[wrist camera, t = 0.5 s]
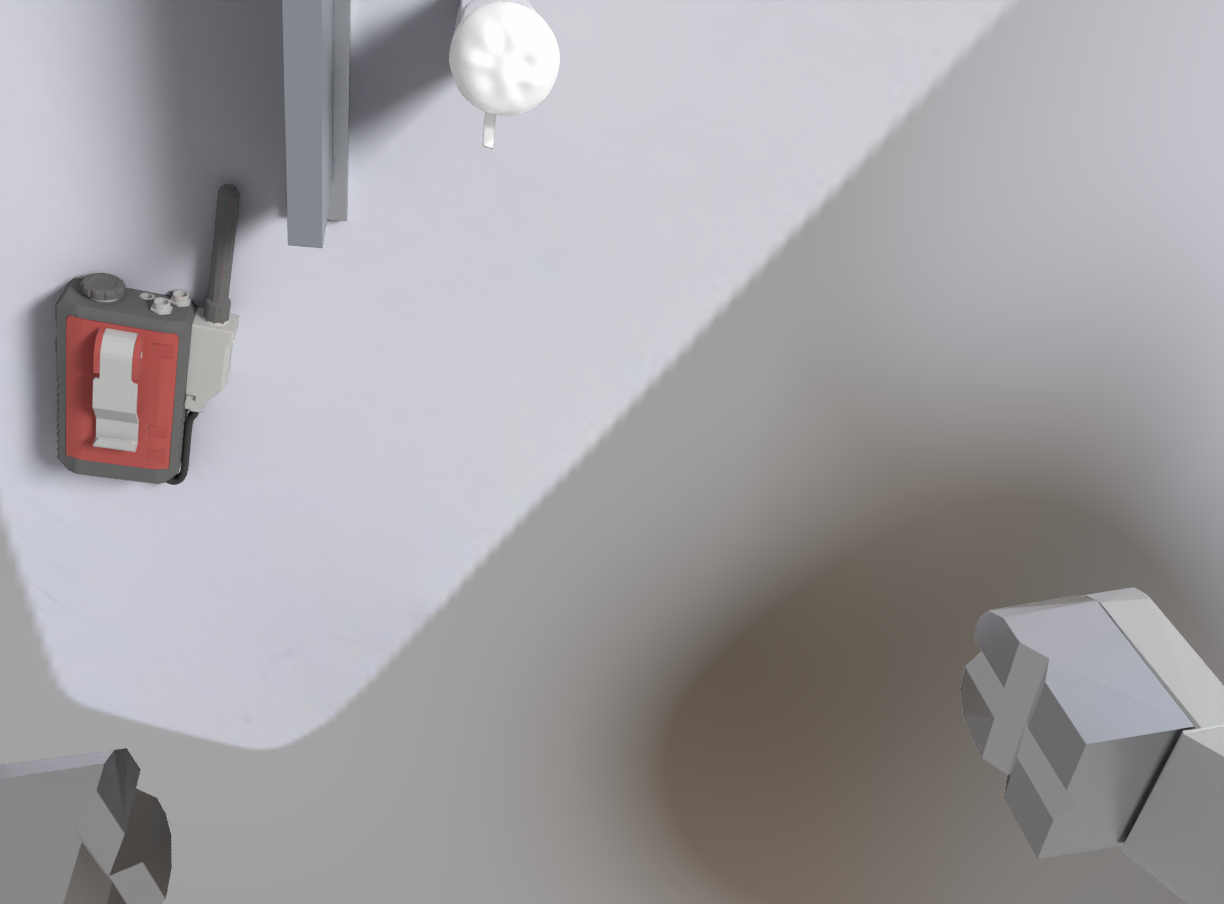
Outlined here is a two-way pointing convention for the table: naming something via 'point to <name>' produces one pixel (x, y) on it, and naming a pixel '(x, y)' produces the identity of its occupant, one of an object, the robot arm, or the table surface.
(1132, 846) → the robot arm
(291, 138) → the screen
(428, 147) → the table surface
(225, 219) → the walkie-talkie
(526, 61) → the milkshake
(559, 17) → the table surface
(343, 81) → the rail
